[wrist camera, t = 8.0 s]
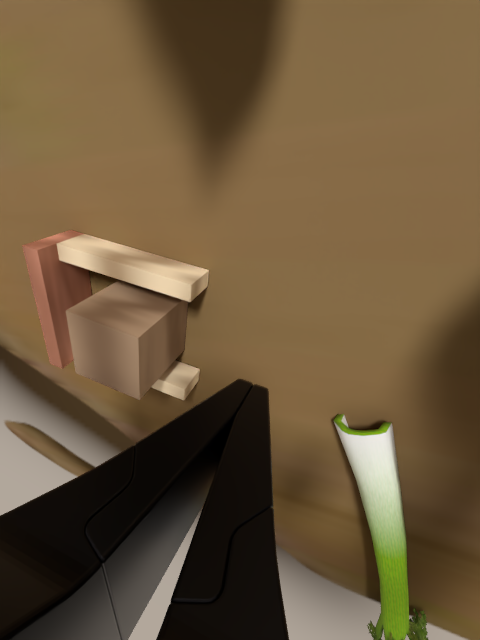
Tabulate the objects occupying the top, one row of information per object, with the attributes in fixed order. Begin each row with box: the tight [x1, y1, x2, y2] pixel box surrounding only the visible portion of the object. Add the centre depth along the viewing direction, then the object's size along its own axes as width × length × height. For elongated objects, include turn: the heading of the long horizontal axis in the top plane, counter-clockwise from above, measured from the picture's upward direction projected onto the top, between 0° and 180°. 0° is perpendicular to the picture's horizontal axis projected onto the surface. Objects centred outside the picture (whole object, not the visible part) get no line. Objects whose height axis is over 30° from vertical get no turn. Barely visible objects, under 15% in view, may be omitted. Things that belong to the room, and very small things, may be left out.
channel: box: [22, 230, 209, 400], centre depth 24 cm, size 11×10×4 cm
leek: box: [334, 414, 428, 640], centre depth 27 cm, size 6×7×30 cm
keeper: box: [66, 280, 188, 400], centre depth 22 cm, size 5×5×6 cm
